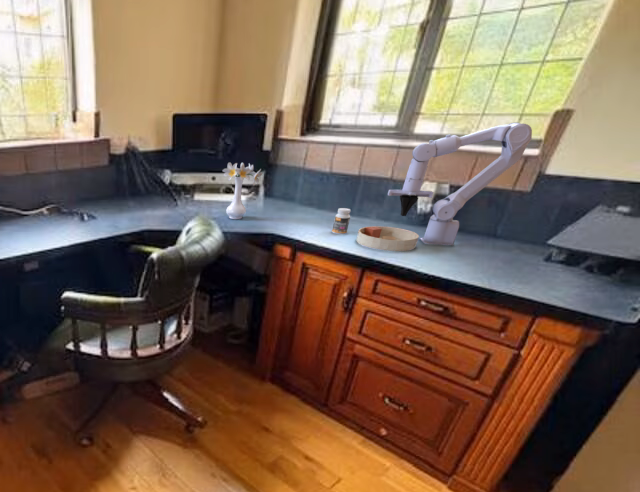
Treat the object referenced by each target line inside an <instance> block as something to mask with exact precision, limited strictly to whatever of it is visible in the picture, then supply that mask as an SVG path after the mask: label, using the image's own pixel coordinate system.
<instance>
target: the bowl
mask: <svg viewBox="0 0 640 492" xmlns="http://www.w3.org/2000/svg"><path fill="white" fill-rule="evenodd" d="M366 227H367V226H365V227H361V228H359V229H358V231H357V234H356V235H357V236H356V239H355V241H356V243H357V244H359V245H361V246H363V247H366V248H370V249H374V250H378V251H390V252H405V251H406V252H407V251H412V250H414V249H415V248H416V247H417V244H418V241H419V239H420V235H419V234H418V233H417V232H415V231H413V230H408V229H405V228H400V227H393V226H381V225H380V226H379V225H374V227H378V228H381V229H382V230H381V234H380V237H379V238H375V237H371V236H367V235H365V234H364V233H365V229H366ZM370 227H373V225H371V226H370ZM382 236H391V237H395V240H388V239H382Z"/></svg>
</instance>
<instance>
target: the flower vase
mask: <svg viewBox="0 0 640 492" xmlns="http://www.w3.org/2000/svg"><path fill="white" fill-rule="evenodd" d="M237 165H238V162H235V163H234V164H232V163H231V162H228V163H227V167H226V168H223V169H221V170H222V172H223V177H227V180H228V182H229V181H231V180H232V178H233V177H234V183H235V184H234V185H235V186H234V193H233V197H232V198H233V199H232V201H231V203H230V204H229V205H228V206H227V207H226V210H225V212H226V214H227V215H228V218H229V219H230V220H241V219H243V216H245V214H246V212H247V209H246V207H245V205H244V204H243V201H242V187H243V182H244V180H245V179H246V180H248V181H250V180H251V177H252V179H253V185H252V186H253V187H254V186H255V185H258V184H259V181H260V179H259V178H260V177H261V176H262V175H263V172H261V171H262V168H260V169H259V170H257V172H255V171H254V164H250V163H248V166H246V167H245V163H244V162H241V163H240V168H238V167H237ZM250 176H251V177H250Z"/></svg>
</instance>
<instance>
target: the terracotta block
mask: <svg viewBox="0 0 640 492" xmlns="http://www.w3.org/2000/svg"><path fill="white" fill-rule="evenodd" d="M372 226H373V225H372ZM374 226H375V225H374ZM374 226H373V227H371V226H365V227H366V229H365V233H364V234H365V235H367V236H371V237H375V238H379V237H380V234H381V230H382V229H381V228H378V227H374Z"/></svg>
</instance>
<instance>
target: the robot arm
mask: <svg viewBox="0 0 640 492" xmlns="http://www.w3.org/2000/svg"><path fill="white" fill-rule="evenodd" d="M532 135H533V129H532V127H531V125H529V124H527V123H521V122H510V123H507V124H506V123H505V124H500V125H495V126H492V127H488V128H485V129H482V130H478V131H475V132H472V133H469V134H466V135H462V136H458V135H457V134H445V137H441V138H438V139H435V140H433V139H430V140H428V143H426V142H421V143H419V144H417V145H416V146H415V147H414V149H413V150H412V151H411V155H412V159H411V160H410V163H409V167H408V169H407V173H406V176H405V179H404V183H403V185H402V189H388V192H387V196H389V197H390V196H391V197H392V196H395V197H397V196H398V197H399V200H400V201H399V202H400V216H401V217H407V215H408V213H409V211H410V210H411V209H412V207H413V206H414V204H416V202H418V200H419V197H420V198H433V195H434V193H435V192H434V191H431V190H421V189H422V186H423V183H424V179H425V176H426V174H427V170H428V165H429V161H430V159H432V158H437V157H441V156H445V155H449V154H452V153H456V152H457V151H458V150H459V149H460V148H461V147H464V146H468V145H472V144H477V143H481V142H485V141H489V140H490V141H498V142H500V144H501V152H500V155H499V156H498V157H497V158H496V159H495V160H493V161H492V162H490V164H489V165H487V166H486V167H485V168H483V169H482V170H481V171H480V172H478V173H477V174H476V175H475V176H474V177H473V178H471V179H469V180H468V181H467V182H466V183H465V184H463V185H462V186H461V187H460V188H459V189H457V190H456V191H455V192H452V193H450V194H448V195H447V196H446V197H445V198H442V199H439V200H437V201H436V202H435V203H434V204H433V206H432V212H433V214H432V215H431V216H430V217H429V220H428V222H427V223H428V224H427V226H426V229H425V233H424V235H423V237H419V239H420V240H421V241H422V242H423V243H424V244H425V245H426V244H427V245H442V246H454V243H455V240H456V238H457V234H458V232H459V229H460V221H459V220H456V219H454V217H455V216H456V215H457V213H458V211H459V210H461V209H462V208H463V207H464V205H465V204H466V202H468V201H469V200H470V199H471V198H473V197H475V196H476V195H477V194H478V193H479V192H481V191H482V190H483V189H484V188H486V187H487V186H488V185H490V184H491V183H492V182H493V181H495V180H496V179H497V178H499V177H500V176H501V175H502V174H504V173H505V172H506V171H508V170H509V169H510V168H511V167H513V166H514V165H515V164H517V163H518V162H520V160H521V159H522V156H523V155H524V152H525V150H526V149H527V146H528V144H529V143H530V142H531V141H532V139H533V138H532Z"/></svg>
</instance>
